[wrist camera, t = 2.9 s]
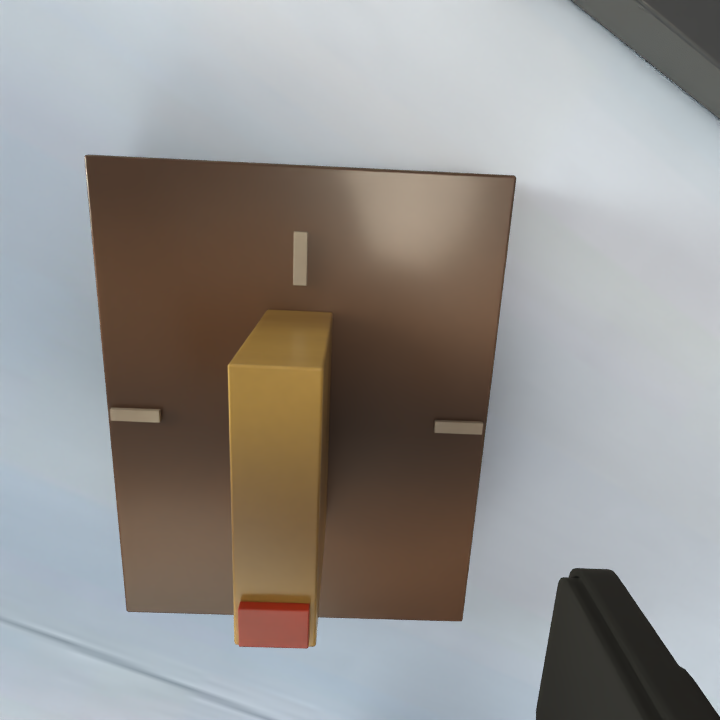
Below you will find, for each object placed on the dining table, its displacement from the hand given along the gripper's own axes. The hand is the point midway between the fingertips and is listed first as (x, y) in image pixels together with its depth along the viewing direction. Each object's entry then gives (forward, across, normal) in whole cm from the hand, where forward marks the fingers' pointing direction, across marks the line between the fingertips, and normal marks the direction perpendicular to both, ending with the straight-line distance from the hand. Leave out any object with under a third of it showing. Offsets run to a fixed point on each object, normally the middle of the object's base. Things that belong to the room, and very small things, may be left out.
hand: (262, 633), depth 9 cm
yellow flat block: (+8, 0, 0) cm, 8 cm away
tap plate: (+11, 0, 0) cm, 11 cm away
